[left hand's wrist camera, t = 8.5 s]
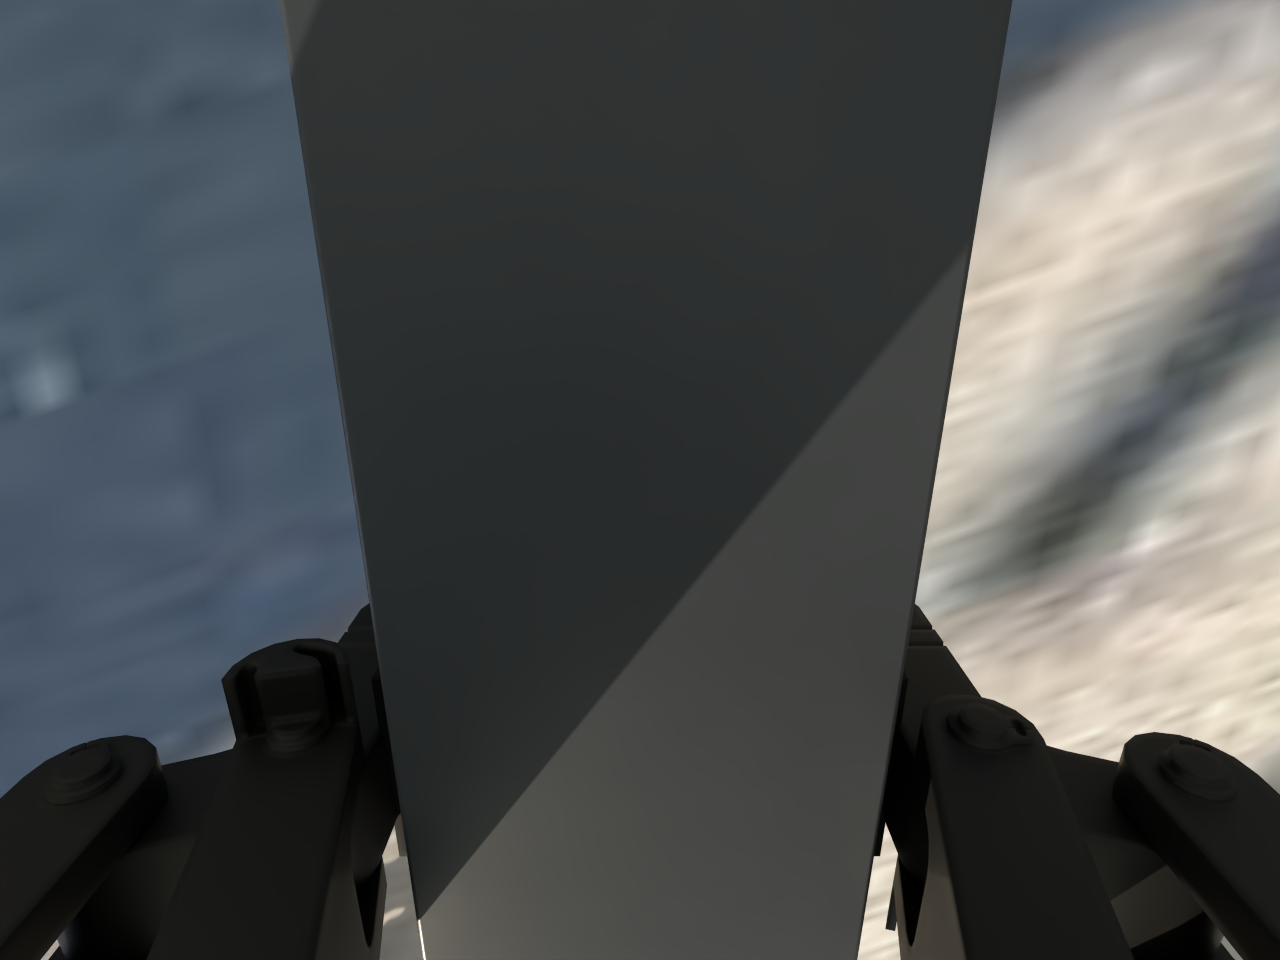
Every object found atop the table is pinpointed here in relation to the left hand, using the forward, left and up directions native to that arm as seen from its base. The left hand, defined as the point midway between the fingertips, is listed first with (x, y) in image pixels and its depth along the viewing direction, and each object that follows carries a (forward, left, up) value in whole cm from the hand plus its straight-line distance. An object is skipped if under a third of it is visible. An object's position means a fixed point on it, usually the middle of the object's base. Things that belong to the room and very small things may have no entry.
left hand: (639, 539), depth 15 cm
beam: (+8, +24, -1) cm, 25 cm away
